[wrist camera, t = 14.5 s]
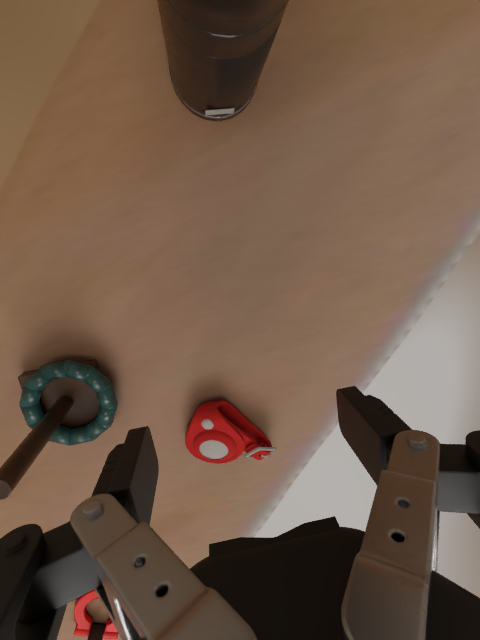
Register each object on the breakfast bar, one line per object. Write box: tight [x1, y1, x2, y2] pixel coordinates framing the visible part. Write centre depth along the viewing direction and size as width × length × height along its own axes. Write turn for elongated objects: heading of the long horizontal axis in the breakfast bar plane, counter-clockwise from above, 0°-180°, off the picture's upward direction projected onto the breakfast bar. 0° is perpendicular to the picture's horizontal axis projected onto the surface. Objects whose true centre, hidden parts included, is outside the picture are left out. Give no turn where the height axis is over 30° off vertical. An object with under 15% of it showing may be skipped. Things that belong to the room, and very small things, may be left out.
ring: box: [20, 360, 118, 445], centre depth 42 cm, size 11×11×2 cm
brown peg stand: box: [0, 359, 113, 499], centre depth 37 cm, size 9×9×16 cm
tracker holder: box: [185, 401, 276, 463], centre depth 47 cm, size 12×4×10 cm
